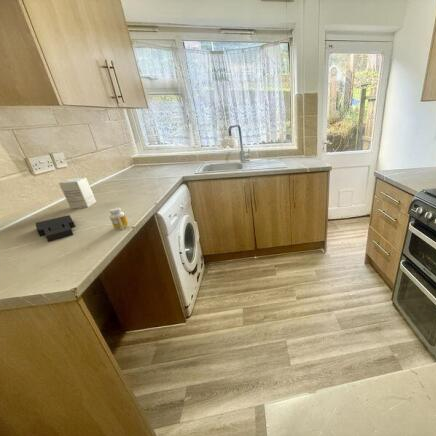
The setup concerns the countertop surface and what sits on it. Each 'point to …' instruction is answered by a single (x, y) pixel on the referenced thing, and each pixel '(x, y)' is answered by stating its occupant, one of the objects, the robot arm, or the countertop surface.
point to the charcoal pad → (54, 224)
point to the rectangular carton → (77, 193)
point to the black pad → (58, 233)
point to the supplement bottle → (118, 219)
